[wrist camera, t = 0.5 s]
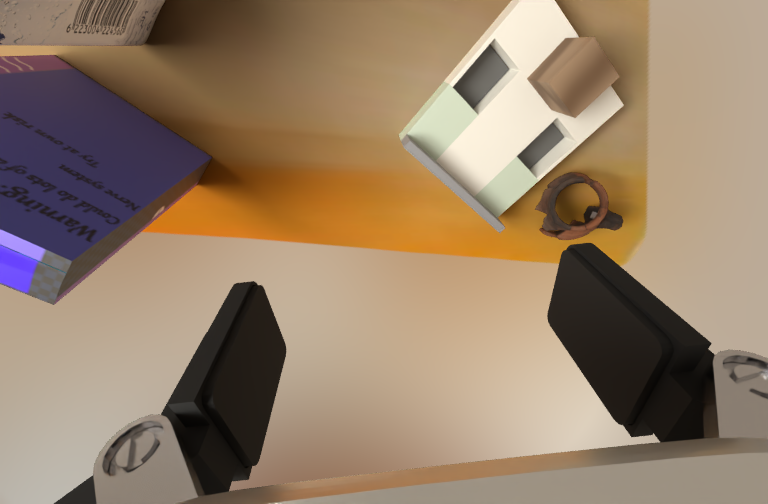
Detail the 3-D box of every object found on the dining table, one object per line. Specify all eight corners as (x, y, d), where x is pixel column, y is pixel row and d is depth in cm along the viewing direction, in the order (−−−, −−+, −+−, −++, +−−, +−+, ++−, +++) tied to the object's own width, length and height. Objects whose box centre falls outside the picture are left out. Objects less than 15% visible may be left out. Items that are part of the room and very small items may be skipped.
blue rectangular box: (44, 92, 36) (-351, 150, 16) (55, 55, 35) (-376, 67, 14) (196, 184, 43) (51, 306, 23) (212, 157, 41) (69, 263, 21)
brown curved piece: (518, 233, 51) (536, 233, 43) (531, 173, 50) (552, 162, 42) (597, 247, 49) (632, 251, 41) (613, 186, 49) (651, 177, 40)
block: (526, 78, 36) (548, 83, 32) (565, 38, 34) (594, 36, 30) (551, 110, 38) (575, 118, 33) (589, 73, 36) (619, 76, 32)
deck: (526, -18, 34) (555, -29, 29) (607, 101, 40) (642, 109, 35) (398, 135, 41) (403, 147, 36) (485, 213, 48) (499, 232, 43)
